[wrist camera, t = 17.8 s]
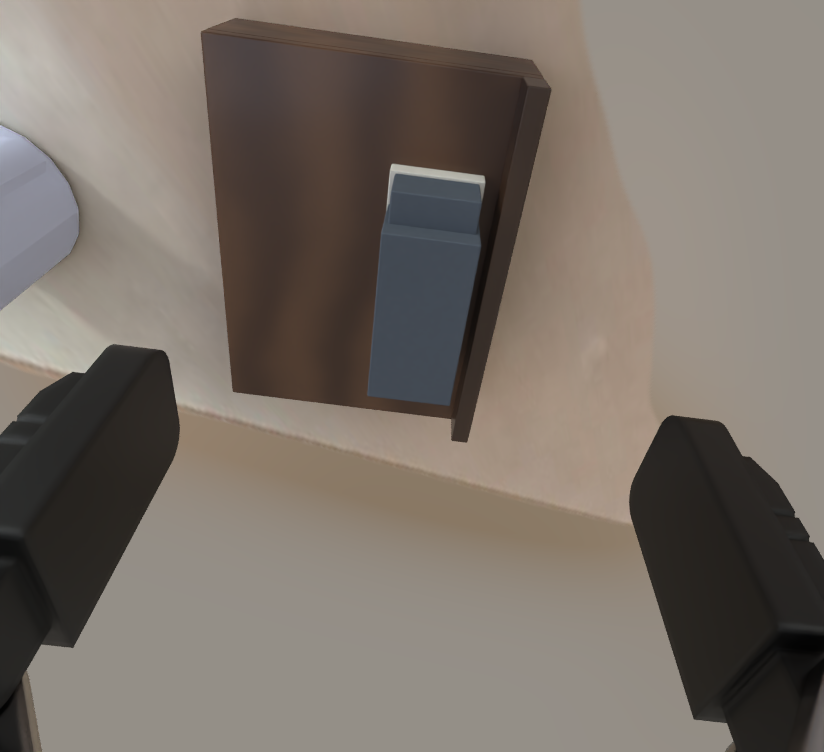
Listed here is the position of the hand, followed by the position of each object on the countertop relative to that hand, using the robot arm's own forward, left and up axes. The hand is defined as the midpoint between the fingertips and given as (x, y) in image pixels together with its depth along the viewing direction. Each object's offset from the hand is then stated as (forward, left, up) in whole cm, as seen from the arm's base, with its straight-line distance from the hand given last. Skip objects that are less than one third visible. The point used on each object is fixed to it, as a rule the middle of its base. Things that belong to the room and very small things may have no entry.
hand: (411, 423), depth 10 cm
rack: (-3, -8, -26) cm, 27 cm away
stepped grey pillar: (0, -8, -21) cm, 23 cm away
